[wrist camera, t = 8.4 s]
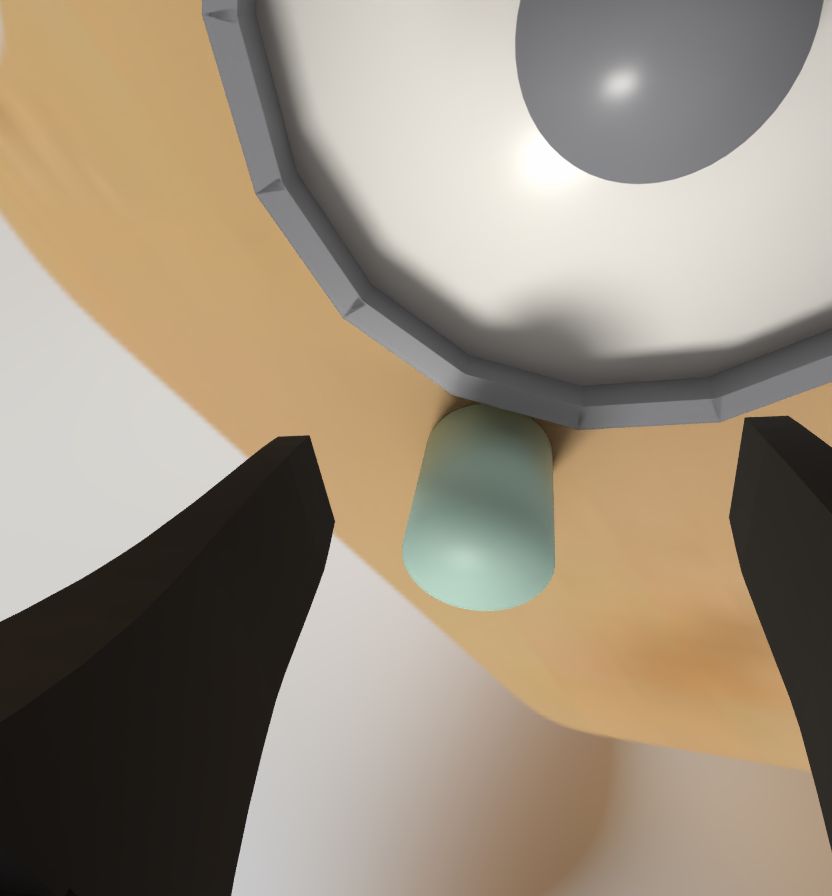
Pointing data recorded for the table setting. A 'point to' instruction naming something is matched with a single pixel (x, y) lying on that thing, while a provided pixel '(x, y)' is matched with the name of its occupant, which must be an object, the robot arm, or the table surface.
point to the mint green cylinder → (483, 511)
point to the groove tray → (555, 191)
